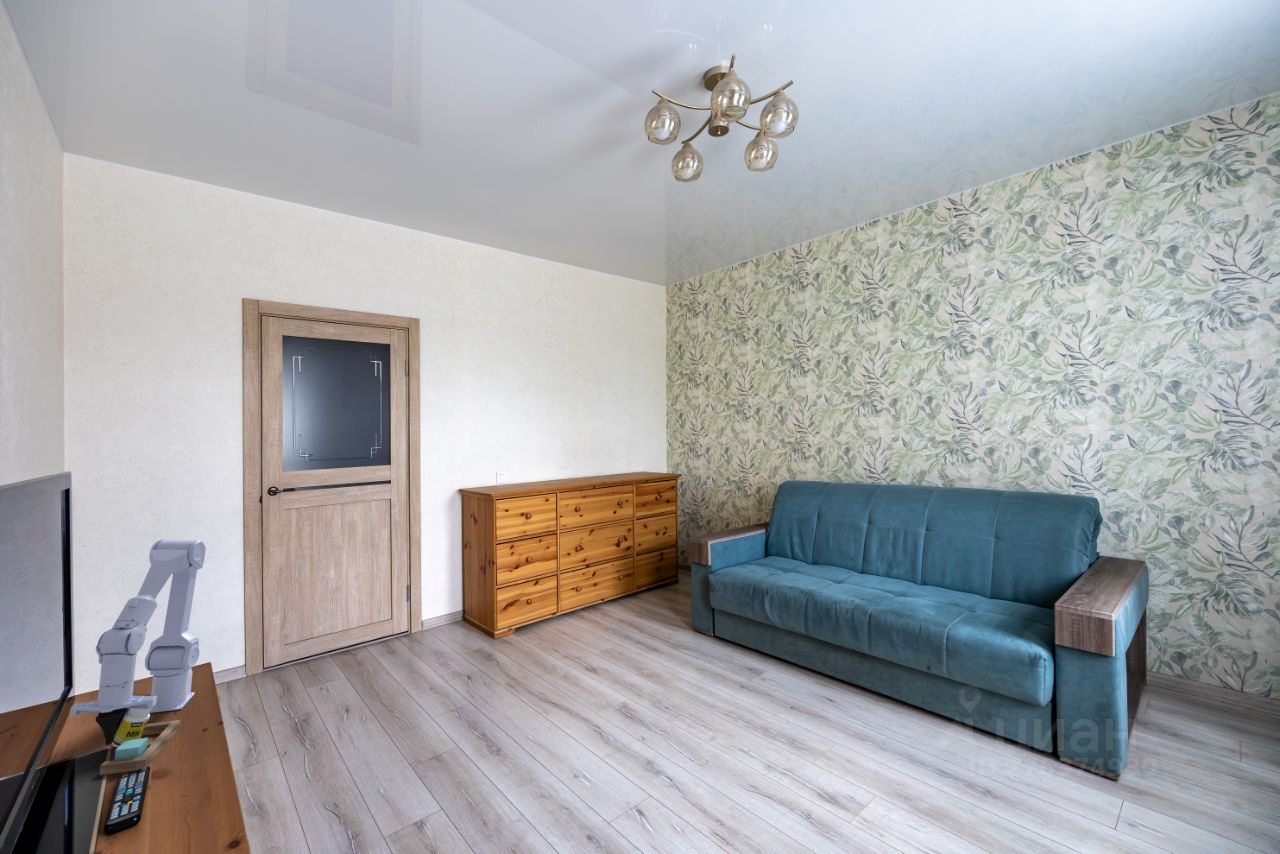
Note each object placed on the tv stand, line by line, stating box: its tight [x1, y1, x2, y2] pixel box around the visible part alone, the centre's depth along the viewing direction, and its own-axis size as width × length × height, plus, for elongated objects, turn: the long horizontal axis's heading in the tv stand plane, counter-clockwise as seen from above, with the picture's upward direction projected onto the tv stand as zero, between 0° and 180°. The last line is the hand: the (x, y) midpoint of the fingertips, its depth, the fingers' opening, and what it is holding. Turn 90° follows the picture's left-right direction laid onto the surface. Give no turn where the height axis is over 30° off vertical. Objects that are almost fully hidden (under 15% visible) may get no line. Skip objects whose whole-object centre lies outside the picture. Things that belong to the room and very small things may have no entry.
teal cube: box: [114, 737, 149, 760], centre depth 116 cm, size 4×4×4 cm
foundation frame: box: [98, 719, 181, 776], centre depth 121 cm, size 18×8×2 cm, turn 22°
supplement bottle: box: [111, 706, 151, 749], centre depth 122 cm, size 5×5×8 cm
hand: (110, 742), depth 121 cm, fingers closed, pressing on supplement bottle
